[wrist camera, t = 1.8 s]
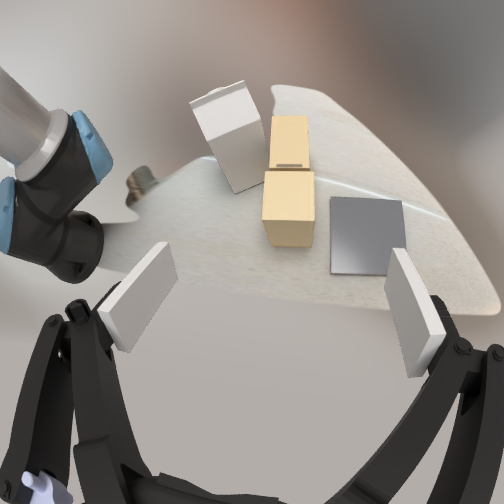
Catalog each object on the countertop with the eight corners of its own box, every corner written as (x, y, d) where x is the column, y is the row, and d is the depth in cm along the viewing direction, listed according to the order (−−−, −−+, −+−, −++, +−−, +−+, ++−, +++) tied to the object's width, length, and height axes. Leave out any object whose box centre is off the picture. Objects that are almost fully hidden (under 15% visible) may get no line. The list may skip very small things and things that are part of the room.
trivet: (330, 274, 39) (331, 272, 38) (330, 199, 42) (330, 196, 41) (404, 276, 37) (407, 274, 36) (399, 203, 40) (401, 200, 38)
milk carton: (274, 178, 45) (255, 96, 26) (235, 194, 45) (196, 120, 27) (258, 148, 47) (234, 67, 29) (221, 163, 47) (183, 88, 29)
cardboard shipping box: (276, 204, 43) (268, 167, 33) (278, 157, 45) (271, 115, 35) (308, 204, 42) (310, 167, 32) (308, 158, 44) (308, 115, 34)
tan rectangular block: (271, 246, 42) (261, 219, 31) (274, 207, 43) (265, 171, 33) (311, 247, 40) (314, 220, 30) (311, 207, 42) (314, 171, 32)
